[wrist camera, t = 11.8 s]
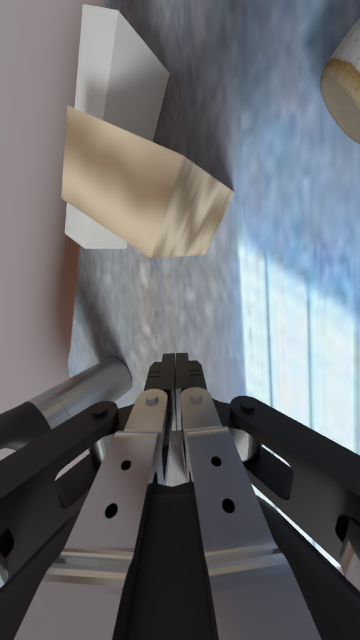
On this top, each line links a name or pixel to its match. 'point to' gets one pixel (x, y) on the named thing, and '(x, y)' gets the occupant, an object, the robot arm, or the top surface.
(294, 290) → the top surface
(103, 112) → the white rectangular block
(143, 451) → the robot arm
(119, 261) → the top surface
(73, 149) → the maple block
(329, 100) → the ceramic mug
